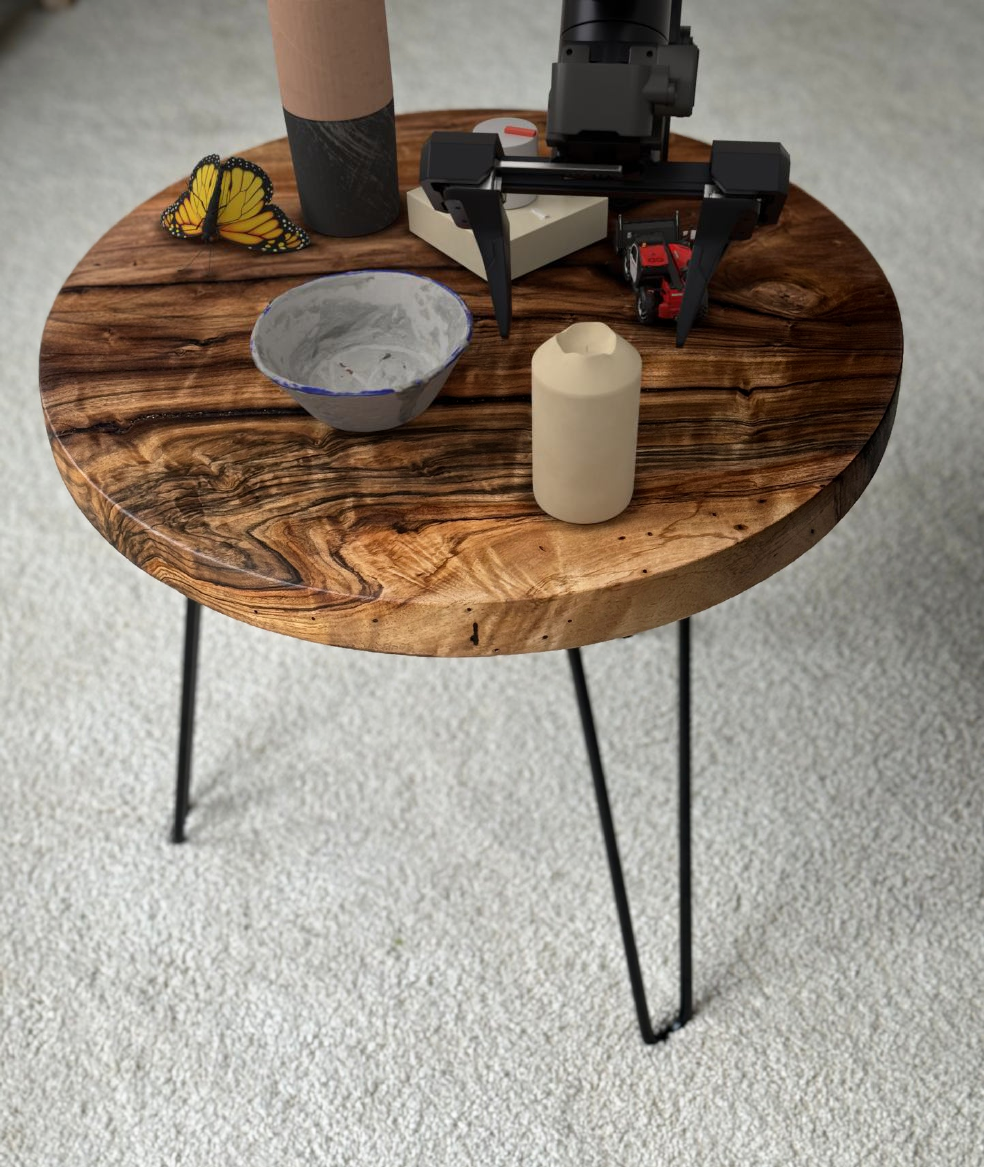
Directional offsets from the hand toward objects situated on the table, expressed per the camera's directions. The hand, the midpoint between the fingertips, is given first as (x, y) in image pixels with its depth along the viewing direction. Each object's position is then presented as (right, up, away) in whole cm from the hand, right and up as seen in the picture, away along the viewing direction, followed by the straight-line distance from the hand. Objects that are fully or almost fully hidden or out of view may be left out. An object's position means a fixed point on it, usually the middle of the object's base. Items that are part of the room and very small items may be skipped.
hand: (591, 343), depth 65 cm
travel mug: (-16, +14, +26) cm, 33 cm away
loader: (+6, +7, +17) cm, 20 cm away
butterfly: (-25, +13, +18) cm, 34 cm away
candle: (0, -8, +3) cm, 8 cm away
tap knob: (-4, +14, +21) cm, 25 cm away
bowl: (-13, -1, +10) cm, 16 cm away
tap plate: (-4, +12, +23) cm, 26 cm away
